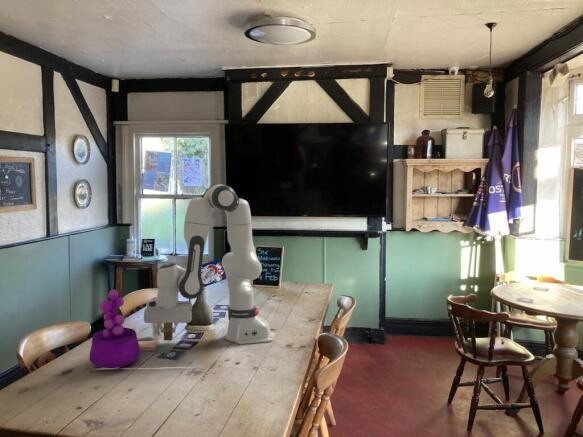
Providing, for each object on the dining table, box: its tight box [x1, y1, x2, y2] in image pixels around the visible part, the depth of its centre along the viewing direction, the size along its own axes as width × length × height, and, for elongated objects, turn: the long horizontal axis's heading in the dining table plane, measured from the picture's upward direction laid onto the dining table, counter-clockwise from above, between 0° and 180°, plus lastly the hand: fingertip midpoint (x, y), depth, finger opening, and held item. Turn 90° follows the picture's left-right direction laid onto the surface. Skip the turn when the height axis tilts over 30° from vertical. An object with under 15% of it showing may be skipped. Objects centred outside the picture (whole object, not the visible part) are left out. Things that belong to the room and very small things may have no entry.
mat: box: [140, 342, 175, 355], centre depth 205 cm, size 18×12×1 cm, turn 93°
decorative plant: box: [88, 289, 141, 369], centre depth 188 cm, size 19×18×30 cm
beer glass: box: [149, 323, 164, 341], centre depth 218 cm, size 7×7×15 cm
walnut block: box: [163, 323, 174, 342], centre depth 209 cm, size 3×3×8 cm
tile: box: [138, 340, 159, 351], centre depth 205 cm, size 2×7×9 cm
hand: (168, 332), depth 209 cm, fingers closed on walnut block, 3 cm apart
